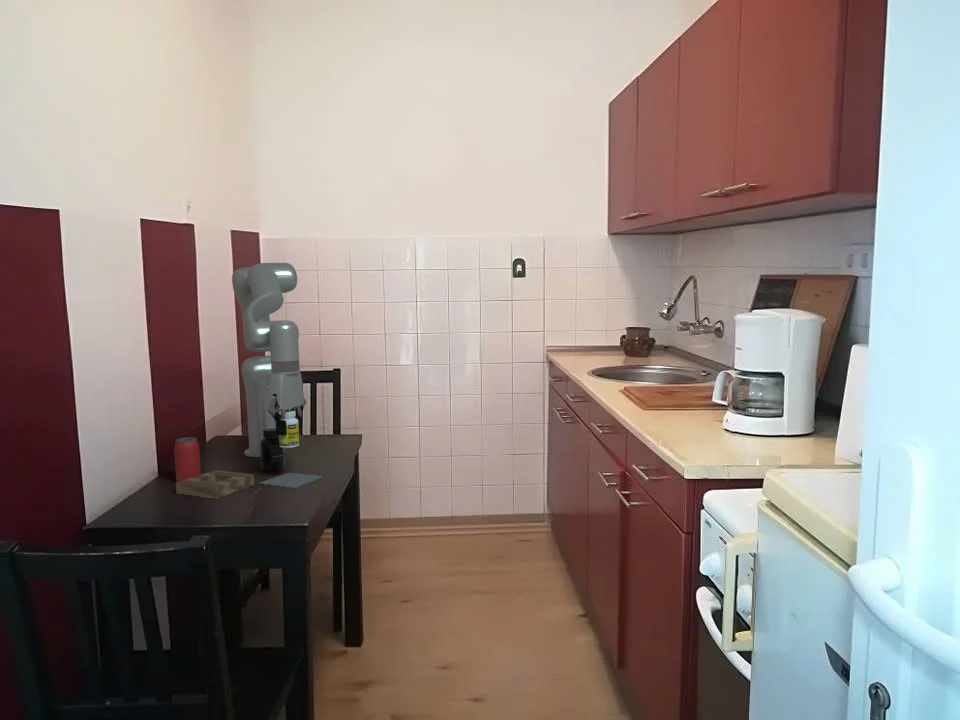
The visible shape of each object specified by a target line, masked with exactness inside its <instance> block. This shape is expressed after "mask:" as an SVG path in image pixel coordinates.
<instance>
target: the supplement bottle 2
mask: <svg viewBox="0 0 960 720" xmlns="http://www.w3.org/2000/svg"><path fill="white" fill-rule="evenodd" d="M295 416H296V411H293V410H290V409H287V410H286V413H285V419H284V421H286V427H287V435H279V445H280V447H281V448H285V449H293V448H296V447H299V446H300V431H299V421H298V419H296V418H295Z"/></svg>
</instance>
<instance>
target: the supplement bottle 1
mask: <svg viewBox="0 0 960 720" xmlns="http://www.w3.org/2000/svg"><path fill="white" fill-rule="evenodd" d="M263 437H264V438H263V439H262V440H261V442H260V455H261V457H260V470H261V471H263V472H265V471H266V472H267V473H271V472H272V473H273V472H274V471H275V472H279V471H282V470H285V468H286V467H285V466H286V465H285V461H286V460H285V452H284V448H281V447H280V445H279V435H277V434H276V428H270V429H265V430H263ZM275 472H274V473H275Z"/></svg>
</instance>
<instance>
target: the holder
mask: <svg viewBox="0 0 960 720" xmlns="http://www.w3.org/2000/svg"><path fill="white" fill-rule="evenodd" d="M254 476H255V475H254V473H253V474H252V473H251V474H250V473H243V472H233V471H225V470H218V469H215V470H211V471H207V472H206V473H205V472H204V473H201V475H198V476H195V477H192V478H189V479H186V480H183V481H180V482H177V481H176V482H175V489H176V490H175V491H176V493H175V494H177V495H182V494H184V495H185V496H190V495H191V497H197V496H199V497H200V498H205V497H206V499H212V498H214V499H215V500H218V499H221V498H223V496H224V497H226V496H229V495H231V493H232V494H234V493H233V492H235V493H237V492H240V491H243V490H245V489H248V488H250V486H251V487H253V485H254V486H255V477H254ZM242 489H243V490H242ZM239 490H240V491H239ZM236 491H237V492H236ZM228 494H229V495H228ZM220 497H221V498H220Z"/></svg>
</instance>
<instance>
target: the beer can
mask: <svg viewBox="0 0 960 720" xmlns="http://www.w3.org/2000/svg"><path fill="white" fill-rule="evenodd" d="M173 447H174V448H173V452H174V467H175V481H176V482H180V481H183V480H186V479H189V478H192V477H195V476H198V475H201V474H202V471H201V469H202V468H201V452H200V444H199V442H198V440H197V437H194V436H193V437H192V436H191V437H189V436H188V437H187V436H186V437H180V438H177V439H175V443H174V446H173Z"/></svg>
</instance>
